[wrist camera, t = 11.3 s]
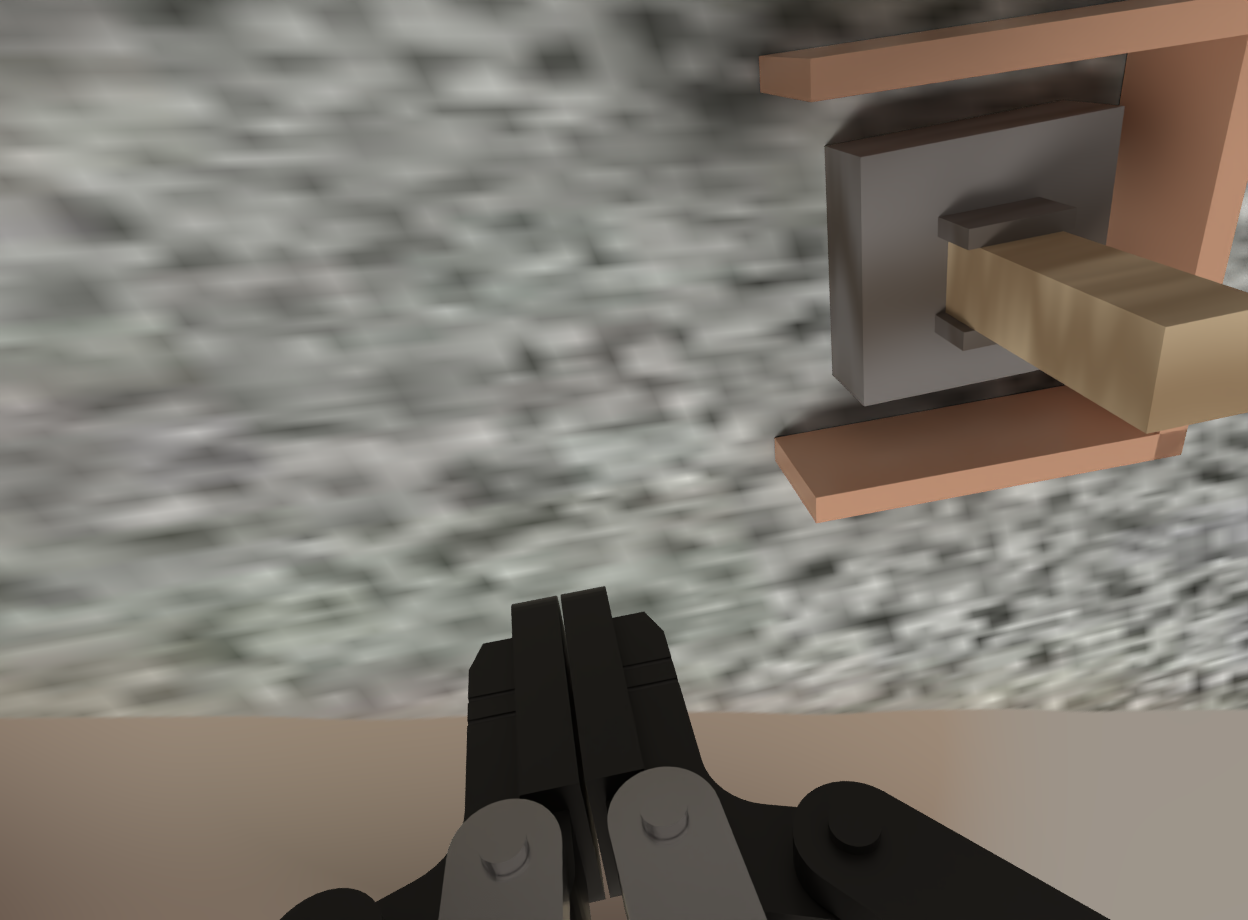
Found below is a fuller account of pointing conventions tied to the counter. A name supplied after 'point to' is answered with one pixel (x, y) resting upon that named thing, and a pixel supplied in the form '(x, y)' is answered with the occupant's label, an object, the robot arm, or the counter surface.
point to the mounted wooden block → (1017, 272)
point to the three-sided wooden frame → (1139, 224)
